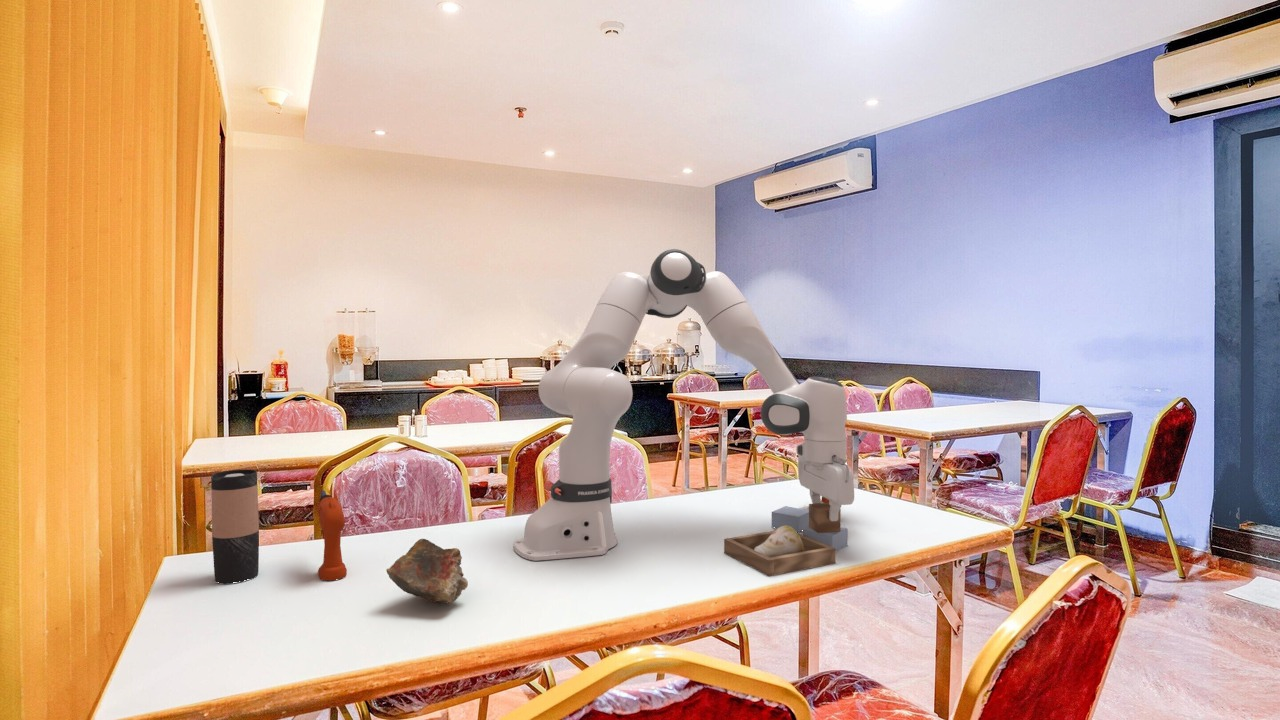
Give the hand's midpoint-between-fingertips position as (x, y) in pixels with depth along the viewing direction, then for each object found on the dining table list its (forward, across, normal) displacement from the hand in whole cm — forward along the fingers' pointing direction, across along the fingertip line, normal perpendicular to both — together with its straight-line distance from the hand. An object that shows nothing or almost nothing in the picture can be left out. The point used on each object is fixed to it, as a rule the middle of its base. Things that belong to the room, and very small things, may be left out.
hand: (824, 515), depth 145 cm
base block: (+7, 0, 0) cm, 7 cm away
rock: (+7, -18, +79) cm, 81 cm away
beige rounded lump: (+7, -9, +14) cm, 18 cm away
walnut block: (+3, 0, 0) cm, 3 cm away
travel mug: (+7, +2, +118) cm, 118 cm away
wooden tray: (+7, -6, +13) cm, 16 cm away
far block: (+7, +15, +1) cm, 17 cm away
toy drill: (+7, +4, +102) cm, 103 cm away
